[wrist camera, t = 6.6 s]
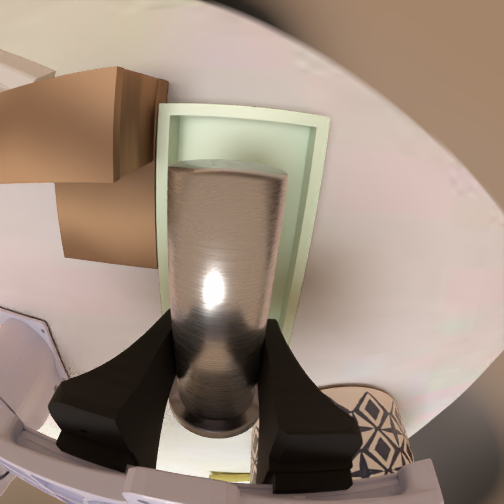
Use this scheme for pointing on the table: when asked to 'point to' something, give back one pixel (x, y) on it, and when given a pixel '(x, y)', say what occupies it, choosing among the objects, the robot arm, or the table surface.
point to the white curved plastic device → (20, 71)
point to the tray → (257, 151)
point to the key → (231, 477)
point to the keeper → (90, 158)
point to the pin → (221, 287)
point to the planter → (365, 432)
